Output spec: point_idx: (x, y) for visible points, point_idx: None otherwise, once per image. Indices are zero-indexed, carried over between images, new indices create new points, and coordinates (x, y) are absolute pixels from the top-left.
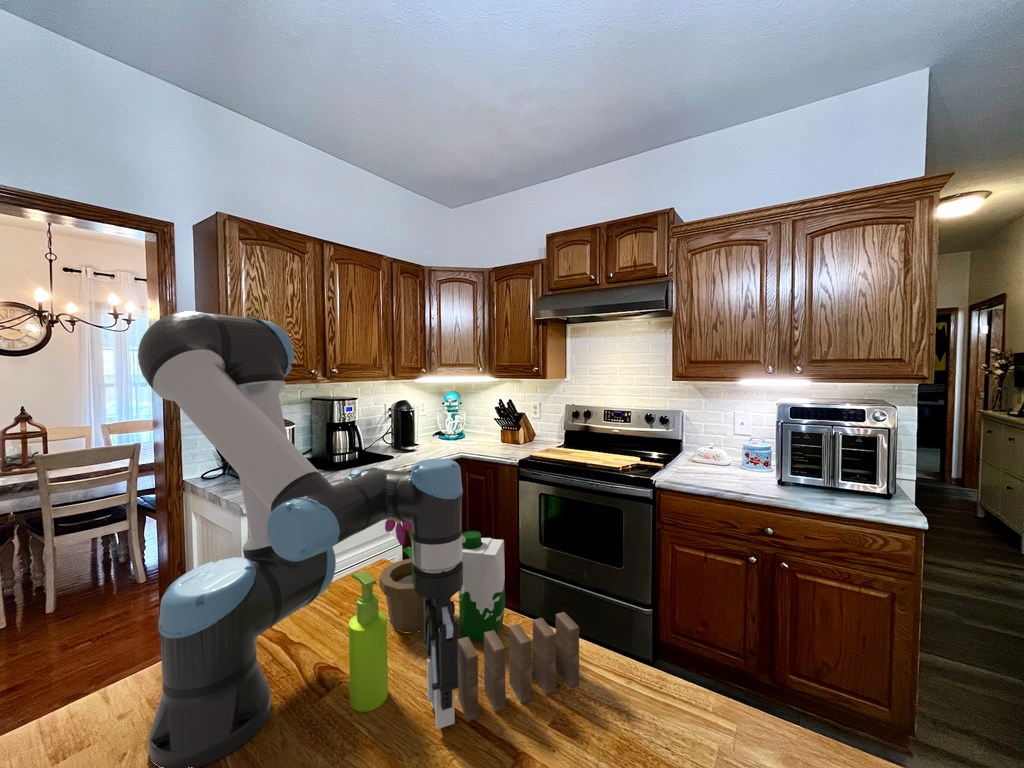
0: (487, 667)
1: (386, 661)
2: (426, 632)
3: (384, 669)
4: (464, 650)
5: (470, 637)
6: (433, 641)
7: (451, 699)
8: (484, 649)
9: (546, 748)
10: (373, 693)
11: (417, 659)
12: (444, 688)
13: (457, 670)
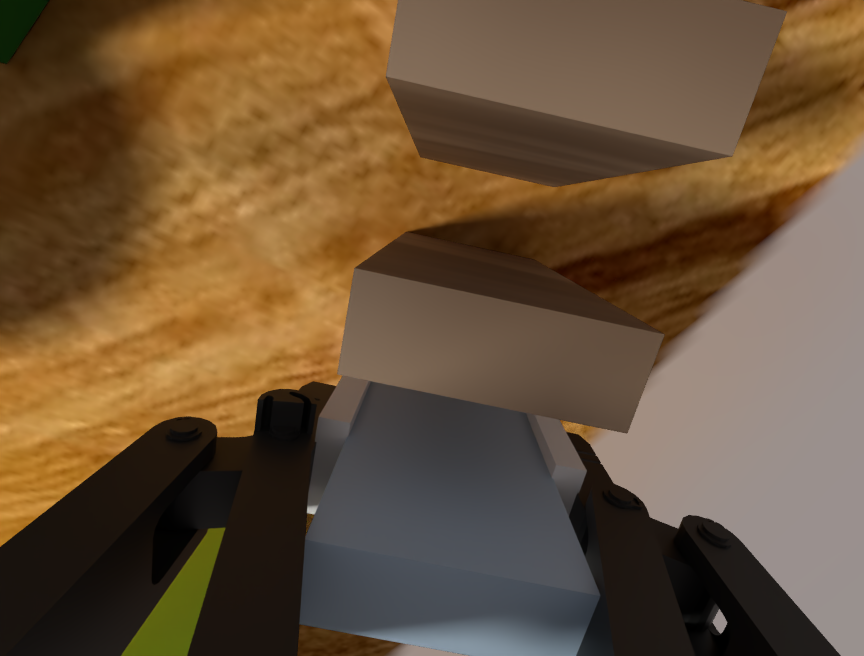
0: (474, 148)
1: (164, 605)
2: (149, 606)
3: (199, 598)
4: (523, 400)
5: (22, 7)
6: (309, 610)
7: (600, 464)
8: (410, 118)
9: (836, 105)
10: None
11: (83, 320)
12: (712, 624)
13: (831, 651)
